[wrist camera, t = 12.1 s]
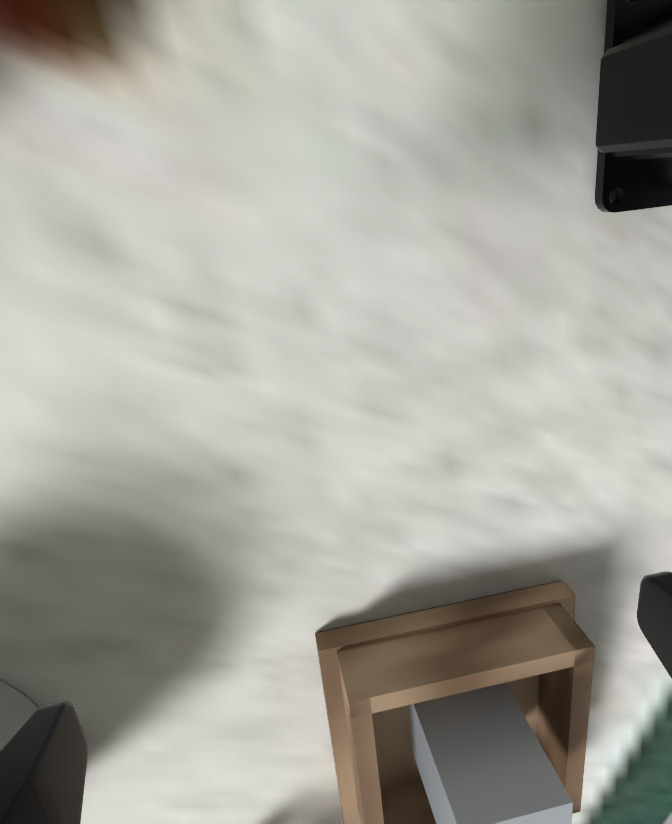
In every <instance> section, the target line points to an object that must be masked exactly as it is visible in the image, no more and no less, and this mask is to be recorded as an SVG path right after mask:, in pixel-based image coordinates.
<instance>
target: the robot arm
mask: <svg viewBox="0 0 672 824" xmlns="http://www.w3.org/2000/svg"><path fill="white" fill-rule="evenodd" d="M596 146H597V148H598V157H597V173H596V189H595V203H596V205H597V207H598V209H600V210H601V211H604V212H622V211H630V210H638V209H645V208H653V207H661V206H669V205H672V0H630V3H629V4H627V3H626V2H625V0H607V15H606V31H605V47H604V56H603V57H602V59H601V68H600V84H599V100H598V116H597V132H596ZM613 189H614V190H615V192H616V197H615V200H614V201H613V202H612V203H611V202H610V200H609V195H610V193H611V191H612V190H613ZM637 619H638V623H639V626H640V629H641V630H642V632H643V634H644V635H645V637H646V639H647V640H648V642H649V643H650V645H651V647H652V648H653V650H654V651H655V653H656V654H657V656H658V658H659V659H660V661H661V662H662V664H663V665H664V667H665V669H666V670H667V672H668V673H669V675H670V677H671V678H672V572H660V573H655V574H650V575H647V576H645V577H644V578H643V579H642V581H641V585H640V593H639V601H638V609H637ZM87 755H88V750H87V742H86V738H85V735H84V732H83V730H82V727H81V725H80V722H79V719H78V717H77V714H76V711H75V709H74V707H73V705H72V703H71V702H69V701H61V702H56V703H51V704H47V705H43V706H40V707H39V708H37V709H36V710H35V711H34V712H33V713H32V715H31V716H30V717H29V718H28V719H27V720H26V721H25V723H24V724H23V725H22V726H21V727H20V728H19V729H18V731H17V732H16V733H15V734H14V735H13V736H12V737H11V739H10V740H9V741H8V742H7V743H6V744H5V746H4V747H3V748H2V749H1V750H0V824H80V821H81V812H82V803H83V794H84V784H85V775H86V766H87Z"/></svg>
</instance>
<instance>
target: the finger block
mask: <svg viewBox="0 0 672 824" xmlns="http://www.w3.org/2000/svg"><path fill="white" fill-rule="evenodd" d="M409 712H410V724H411V736H412V748H413V754H414V758H415V761H416V764H417V767H418V770H419V773H420V776H421V779H422V782H423V785H424V788H425V791H426V794H427V797H428V800H429V803H430V806H431V809H432V812H433V815H434V818H435V821H436V824H571V823H572V809H573V802H572V800H571V798H570V796H569V795H568V793H567V791H566V789H565V787H564V786H563V784H562V782H561V780H560V779H559V777H558V775H557V773H556V771H555V770H554V768H553V766H552V764H551V763H550V761H549V759H548V757H547V755H546V754H545V752H544V750H543V748H542V747H541V745H540V743H539V741H538V739H537V738H536V736H535V734H534V732H533V731H532V729H531V727H530V725H529V723H528V722H527V720H526V718H525V716H524V715H523V713H522V711H521V709H520V708H519V706H518V704H517V702H516V700H515V699H514V697H513V695H512V693H511V692H510V690H509V688H508V686H507V684H506V683H501V684H497V685H492V686H488V687H484V688H480V689H475V690H471V691H467V692H462V693H458V694H454V695H449V696H445V697H441V698H437V699H432V700H428V701H424V702H419V703H415V704H411V705H409Z"/></svg>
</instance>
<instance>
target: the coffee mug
mask: <svg viewBox="0 0 672 824" xmlns="http://www.w3.org/2000/svg"><path fill="white" fill-rule="evenodd" d="M37 708H38V707H37V706H36V705H35V704H34V703H33V702H32V701H31V700H30V699H29V698H27V697H26V696H25V695H23V694H22V693H21V692H19V691H18V690H16V689H14V688H13V687H11V686H9V685H8V684H6V683H4V682H2V681H0V750H1V749H2V748H3V747H4V746H5V744H6V743H7V742H8V741H9V740H10V739H11V737H12V736H13V735H14V734H15V733H16V732H17V731H18V729H19V728H20V727H21V726H22V725H23V724H24V723H25V721H26V720H27V719H28V718H29V717H30V716H31V715H32V713H33V712H34V711H35V710H36V709H37Z"/></svg>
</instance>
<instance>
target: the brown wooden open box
mask: <svg viewBox="0 0 672 824" xmlns="http://www.w3.org/2000/svg"><path fill="white" fill-rule="evenodd" d="M574 610H575V594H574V593H573V592H572V591H571V590H570V589H569V587H568V586H567V585H566V584H565V583H564V582H563V581H559V582H554V583H549V584H545V585H540V586H535V587H531V588H526V589H521V590H517V591H512V592H507V593H502V594H498V595H493V596H488V597H484V598H479V599H474V600H469V601H465V602H460V603H455V604H451V605H446V606H441V607H436V608H432V609H427V610H422V611H418V612H413V613H408V614H403V615H399V616H394V617H389V618H385V619H380V620H375V621H370V622H366V623H361V624H356V625H352V626H347V627H342V628H337V629H333V630H328V631H323V632H319V633H315V636H316V643H317V649H318V656H319V662H320V669H321V676H322V682H323V689H324V695H325V702H326V709H327V715H328V722H329V728H330V735H331V741H332V748H333V755H334V761H335V768H336V774H337V781H338V788H339V794H340V801H341V807H342V814H343V821H344V824H436V821H435V818H434V815H433V812H432V809H431V806H430V803H429V800H428V797H427V794H426V791H425V788H424V785H423V782H422V779H421V776H420V773H419V770H418V767H417V764H416V761H415V758H414V754H413V748H412V736H411V724H410V712H409V705H411V704H415V703H419V702H424V701H428V700H432V699H437V698H441V697H445V696H449V695H454V694H458V693H462V692H467V691H471V690H475V689H480V688H484V687H488V686H492V685H497V684H501V683H506V684H507V686H508V688H509V690H510V692H511V693H512V695H513V697H514V699H515V700H516V702H517V704H518V706H519V708H520V709H521V711H522V713H523V715H524V716H525V718H526V720H527V722H528V723H529V725H530V727H531V729H532V731H533V732H534V734H535V736H536V738H537V739H538V741H539V743H540V745H541V747H542V748H543V750H544V752H545V754H546V755H547V757H548V759H549V761H550V763H551V764H552V766H553V768H554V770H555V771H556V773H557V775H558V777H559V779H560V780H561V782H562V784H563V786H564V787H565V789H566V791H567V793H568V795H569V796H570V798H571V800H572V802H573V809H572V814H573V813H576V812H580V808H581V796H582V785H583V773H584V762H585V751H586V739H587V728H588V716H589V705H590V693H591V682H592V671H593V659H594V648H595V646H594V645H593V644H592V642H591V641H590V640H589V639H588V637H587V636H586V635H585V634H584V632H583V631H582V630H581V629H580V627H579V626H578V625H577V624H576V622H575V621H574Z"/></svg>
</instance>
